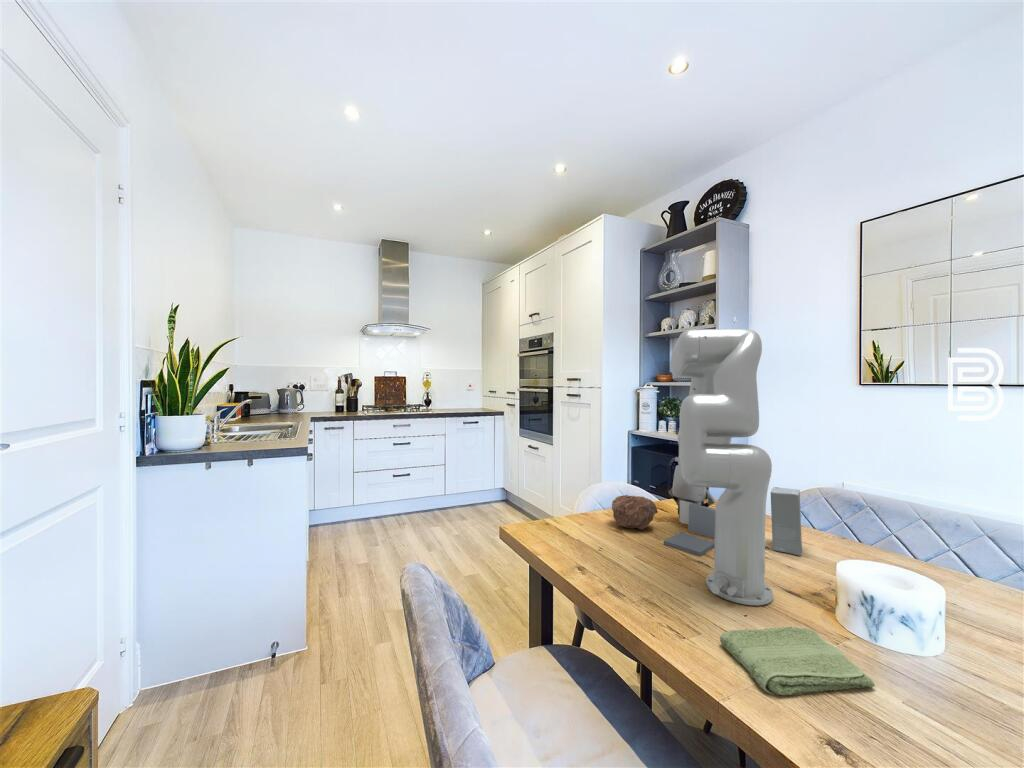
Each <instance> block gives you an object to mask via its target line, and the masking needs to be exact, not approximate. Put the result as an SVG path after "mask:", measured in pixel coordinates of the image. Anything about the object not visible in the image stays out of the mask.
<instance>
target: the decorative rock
mask: <svg viewBox="0 0 1024 768" xmlns="http://www.w3.org/2000/svg"><path fill="white" fill-rule="evenodd" d="M611 510H612V511H613V514H612V516H613V519H614V520H615V523H616V525H617V526H621V527H624V528H627V529H638V530H640V531H642V530H644V529H646V528H647V527H648V526H649V524H650V523H651V522H652V521H653V520H654V517H655V514H657V513H658V512H659V511H658V509H657V506H656V503H654V502H653V500H652V499H649V498H647V497H645V496H639V495H638V496H635V495H628V494H624V495H619V496H617V497H615V498H614V499H613V500H612V502H611Z"/></svg>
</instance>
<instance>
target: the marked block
mask: <svg viewBox="0 0 1024 768" xmlns="http://www.w3.org/2000/svg"><path fill="white" fill-rule="evenodd" d="M689 504H697V502H696V501H691V500H687V499H682V500H680V515H678V519H679V522H678V523H681V524H684V523H685V524H684V525H688V526H689Z"/></svg>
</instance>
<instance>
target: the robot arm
mask: <svg viewBox="0 0 1024 768" xmlns="http://www.w3.org/2000/svg"><path fill="white" fill-rule="evenodd" d="M762 343H763V342H762V339H761V337H760V335H759V334H758V332H756V330H753V329H747V328H715V329H714V328H713V329H712V328H711V329H707V328H706V329H703V328H701V329H687V330H685V331H683V332H681V333H680V335H679V336H678V339H677V340H676V343H675V345H674V347H673V349H672V353H671V356H670V362H669V367H670V372H671V375H672V376H673V377H675V378H680V379H681V378H684V379H687V378H688V379H689V378H691V381H690V386H689V393H688V396H686V397H685V398H684V399H683V400H682V402H681V405H680V409H679V428H678V429H679V431H678V433H677V443H678V457H677V456H675V457H674V462H677V465H676V466H675V469H674V472H673V473H674V474H673V481H672V487H671V489H669V490H668V492H667V493H668V494H669V496H670V497H671V498H672V499H673V500H674V502H675V503H676V505H677V515H678V516H679V515H680V500H682V499H687V500H691V501H696V502H697V505H701V506H705V507H710V506H712V505H715V507H714V509H715V539H714V541H713V542H714V548H713V549H714V550H713V551H714V554H713V559H714V560H713V562H714V563H713V565H714V566H713V572H712V573H709V574H708V575H706V578H705V583H706V587H707V588H708V590H710V591H711V593H712V594H713V595H716V596H718V597H719V598H722V599H724V600H727V601H730V602H732V603H736V604H740V605H746V606H757V607H758V606H765V605H768V604H770V603H771V602H772V601H773V599H774V592H773V589H772V588H771V587H770V586H768V585H767V584H766V583H765V570H766V569H765V564H766V563H765V562H766V513H767V512H766V511H767V498H768V497H767V496H768V490H769V486H770V480H771V477H772V468H773V464H772V460H771V458H770V455H769V454H768V452H767V451H766V450H764V449H762V448H761V447H759V446H757V445H752V444H747V443H746V444H745V443H731V442H732V440H733V439H732V438H748V437H752V436H754V435H756V434H757V433H758V431H759V427H760V410H759V408H760V407H759V394H758V393H759V392H758V383H757V373H758V367H759V364H760V361H761V357H762V351H763V344H762ZM710 488H712V489H713V488H715V489H716V488H717V489H725V490H724V491H723V492H722V494H721V495H720V496H719V497H718V499H717V501H716V500H715V498H714V497H713V496H712V494H711V492H710ZM706 500H707V502H705V501H706Z"/></svg>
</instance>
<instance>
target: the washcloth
mask: <svg viewBox="0 0 1024 768" xmlns="http://www.w3.org/2000/svg"><path fill="white" fill-rule="evenodd" d="M719 642H720V644H721V645H722V646H723V648H725V650H727V652H729V654H731V655H732V657H733V658H734V659H735V660H736V661H737V663H738V664H742V666H743V667H744V668H745V669H746V670H747V671H748V672H749V675H750V677H751V678H752V679H753V680H755V681H756V683H757V685H759V687H760V689H761V690H762V691H765V692H766V693H767V694H770V695H772V696H774V695H778V696H791V695H794V696H795V695H803V694H817V693H822V692H829V691H834V692H836V691H838V690H840V691H842V690H849V689H865V688H870V689H872V688H874V687H875V686H876V685H875V682H874V681H873V679H872V678H871V677H870V676H869V675H867V674H866V673H865V672H864V671H863V670H862V669H861V668H860V667H859V666H858V665H856V664H855V663H854V662H852V661H851V660H849V659H848V658H847V657H846V656H845V654H844V653H843V652H842V651H841V650H840V649H839V648H838V647H837V646H835V645H834V644H831V643H829V642H827V641H826V640H825V639H824V638H823V637H822V636H821V635H820V634H819V633H818V632H817V631H816V630H812V629H810V628H806V627H803V628H801V627H796V626H795V627H793V626H783V627H782V626H781V627H775V628H774V627H769V628H761V629H750V628H749V629H748V628H745V629H734V630H732V629H731V630H729V631H726V632H723V633H721V635H720V636H719Z"/></svg>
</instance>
